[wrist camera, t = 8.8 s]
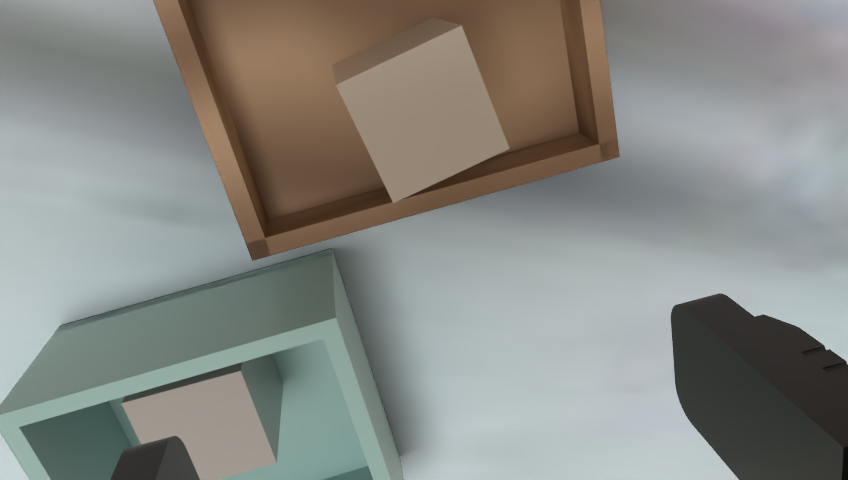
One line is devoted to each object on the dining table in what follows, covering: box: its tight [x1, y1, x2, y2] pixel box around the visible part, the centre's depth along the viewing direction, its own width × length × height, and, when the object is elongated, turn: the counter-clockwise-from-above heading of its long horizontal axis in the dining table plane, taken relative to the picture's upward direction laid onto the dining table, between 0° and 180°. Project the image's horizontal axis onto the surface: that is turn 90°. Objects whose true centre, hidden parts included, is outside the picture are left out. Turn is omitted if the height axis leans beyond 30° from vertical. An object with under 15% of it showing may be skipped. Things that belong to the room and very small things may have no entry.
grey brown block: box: [121, 354, 283, 480], centre depth 25 cm, size 4×4×5 cm
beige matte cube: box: [332, 17, 510, 203], centre depth 22 cm, size 4×4×5 cm
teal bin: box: [0, 249, 404, 480], centre depth 26 cm, size 11×11×6 cm
